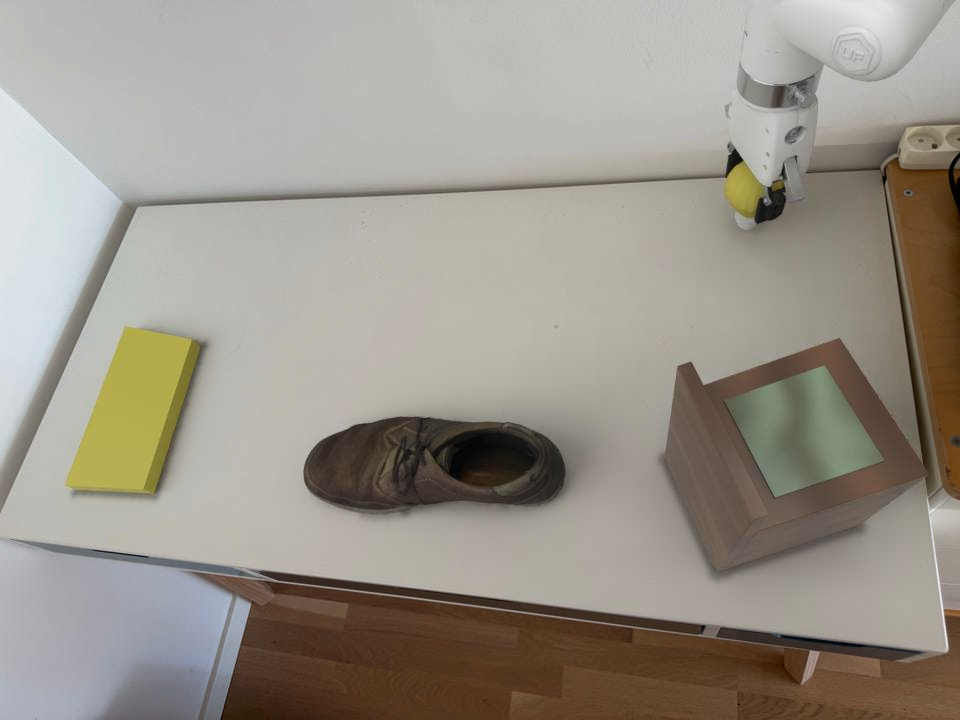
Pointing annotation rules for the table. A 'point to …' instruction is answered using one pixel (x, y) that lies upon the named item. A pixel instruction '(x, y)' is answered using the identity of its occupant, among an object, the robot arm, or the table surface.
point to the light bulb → (744, 194)
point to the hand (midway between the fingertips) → (752, 195)
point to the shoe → (433, 465)
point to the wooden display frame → (784, 453)
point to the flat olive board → (135, 414)
